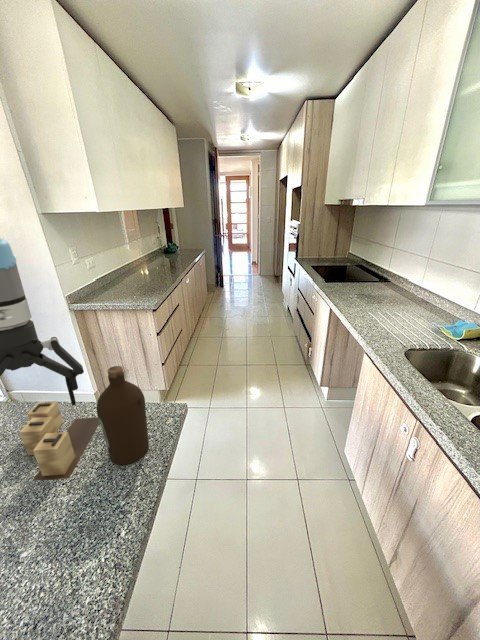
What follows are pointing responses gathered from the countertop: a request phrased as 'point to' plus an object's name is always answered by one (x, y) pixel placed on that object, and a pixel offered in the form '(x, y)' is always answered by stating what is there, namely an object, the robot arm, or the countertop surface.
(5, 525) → the countertop surface
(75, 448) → the word board
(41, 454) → the letter T
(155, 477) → the countertop surface
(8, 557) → the countertop surface
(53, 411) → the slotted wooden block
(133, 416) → the olive oil
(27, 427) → the letter I
